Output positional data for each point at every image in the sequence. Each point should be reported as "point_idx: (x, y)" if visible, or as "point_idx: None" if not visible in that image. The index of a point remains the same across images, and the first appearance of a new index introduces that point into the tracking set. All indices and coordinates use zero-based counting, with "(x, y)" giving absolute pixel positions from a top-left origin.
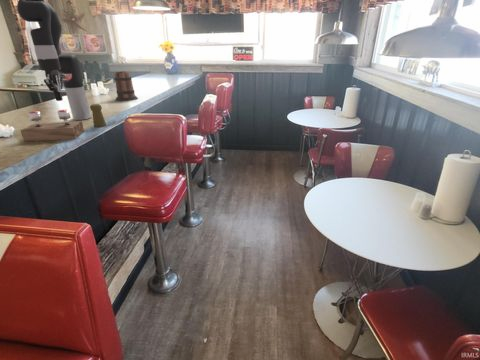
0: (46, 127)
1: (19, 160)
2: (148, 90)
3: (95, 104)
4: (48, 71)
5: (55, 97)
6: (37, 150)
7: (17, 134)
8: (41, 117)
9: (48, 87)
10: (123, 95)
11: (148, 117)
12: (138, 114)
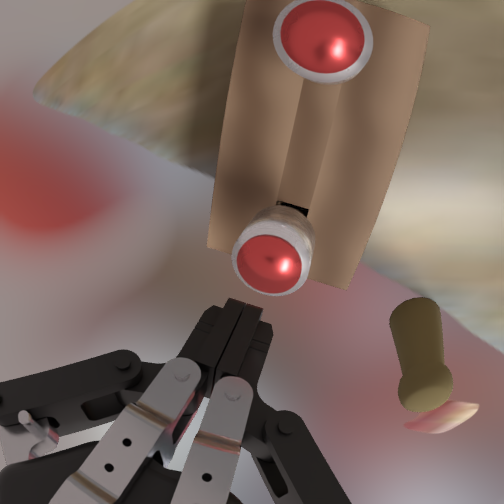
0: (267, 109)
1: (57, 95)
2: None
3: (417, 404)
4: None
5: (217, 318)
6: (117, 107)
7: None
8: (330, 84)
9: (68, 366)
10: None
11: (410, 428)
12: (473, 413)
